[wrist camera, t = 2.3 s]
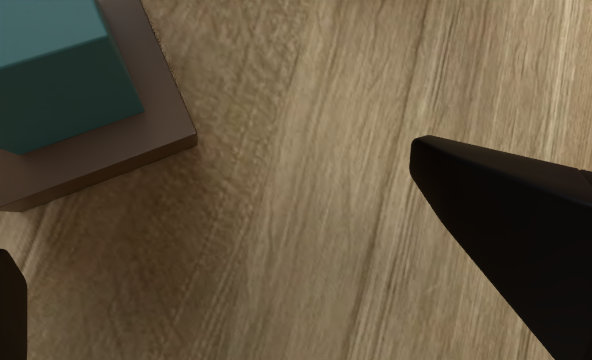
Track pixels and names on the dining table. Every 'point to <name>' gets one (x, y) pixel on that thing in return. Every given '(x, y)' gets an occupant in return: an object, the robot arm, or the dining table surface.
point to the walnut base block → (110, 138)
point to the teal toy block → (59, 73)
